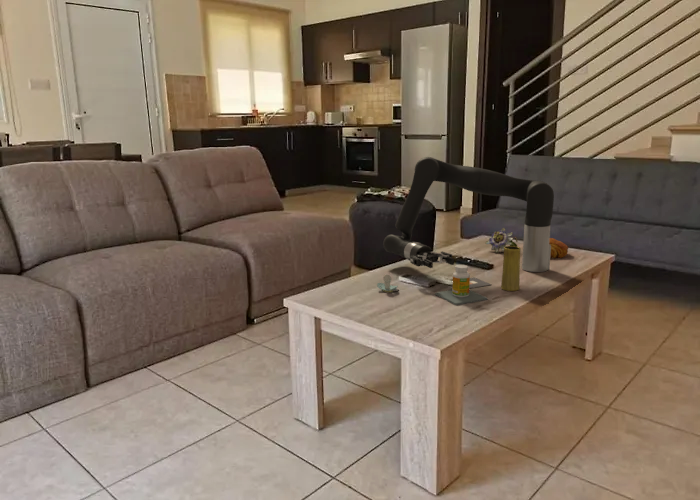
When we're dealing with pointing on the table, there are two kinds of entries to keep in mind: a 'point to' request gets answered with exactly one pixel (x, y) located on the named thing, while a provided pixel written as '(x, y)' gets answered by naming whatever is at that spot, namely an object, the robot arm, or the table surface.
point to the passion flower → (501, 240)
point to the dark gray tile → (477, 283)
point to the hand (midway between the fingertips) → (442, 263)
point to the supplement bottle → (461, 281)
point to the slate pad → (460, 300)
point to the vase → (511, 269)
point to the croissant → (557, 248)
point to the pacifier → (387, 284)
